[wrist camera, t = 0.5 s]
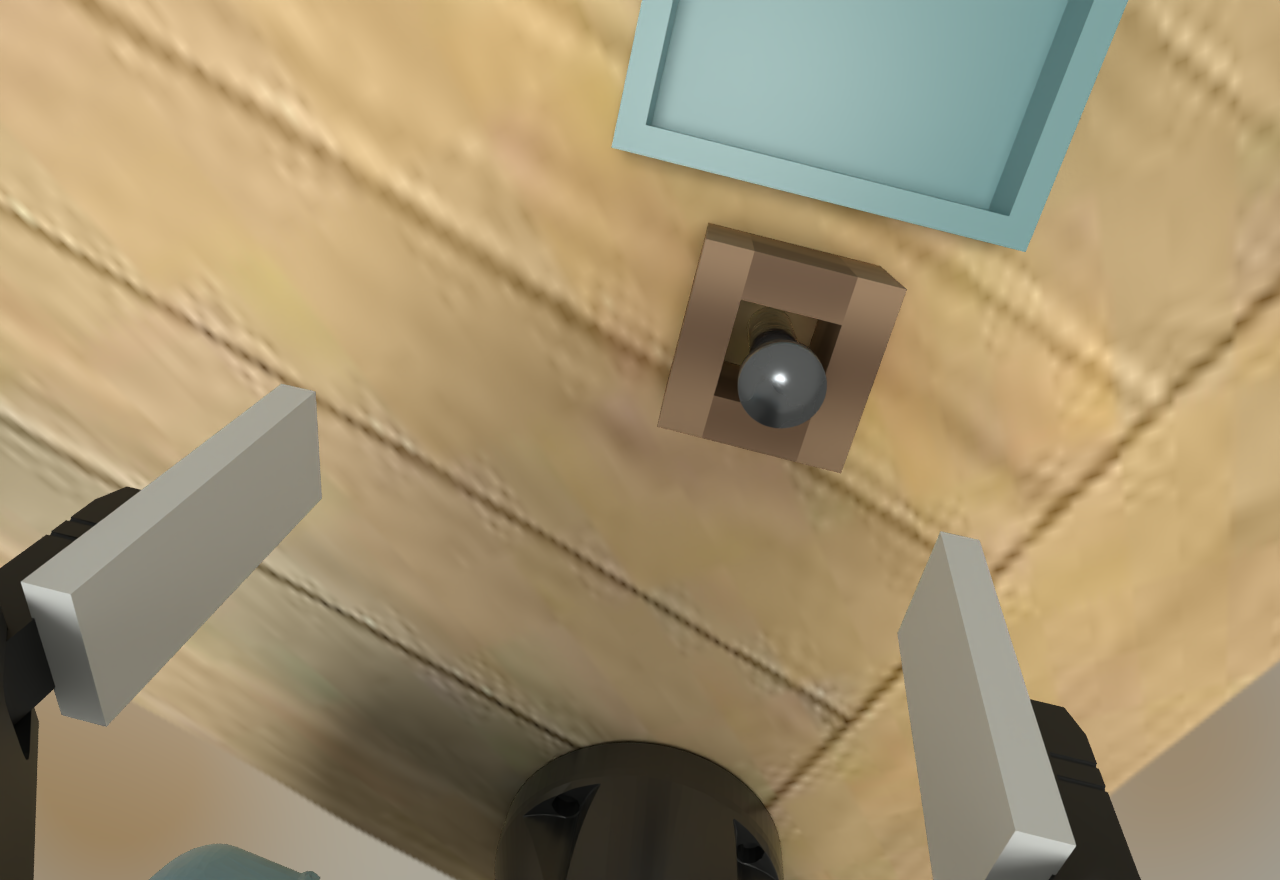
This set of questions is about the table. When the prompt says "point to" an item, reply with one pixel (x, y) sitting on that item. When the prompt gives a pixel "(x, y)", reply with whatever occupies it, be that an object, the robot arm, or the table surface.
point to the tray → (872, 100)
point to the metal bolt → (779, 373)
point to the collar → (843, 342)
